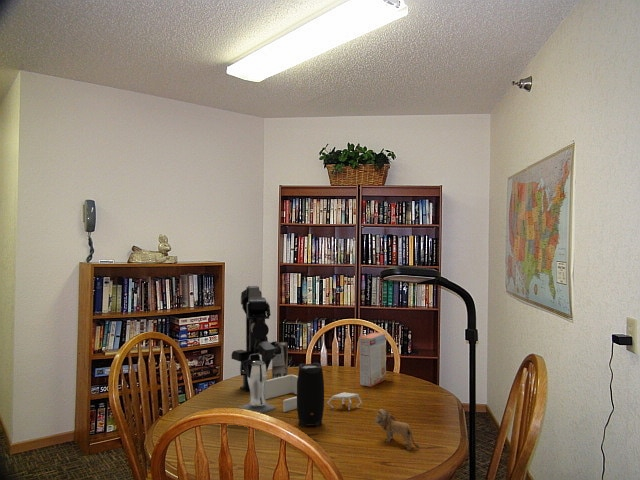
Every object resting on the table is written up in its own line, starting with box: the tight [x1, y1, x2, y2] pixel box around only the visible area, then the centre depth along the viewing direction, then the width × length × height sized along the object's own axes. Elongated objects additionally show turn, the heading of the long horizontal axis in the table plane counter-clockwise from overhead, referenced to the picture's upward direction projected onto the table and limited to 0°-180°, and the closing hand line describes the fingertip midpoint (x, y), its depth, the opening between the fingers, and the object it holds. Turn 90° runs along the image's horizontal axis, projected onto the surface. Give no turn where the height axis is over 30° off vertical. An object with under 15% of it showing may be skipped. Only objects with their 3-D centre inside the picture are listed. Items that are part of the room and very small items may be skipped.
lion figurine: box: [374, 408, 420, 451], centre depth 144 cm, size 15×5×9 cm, turn 52°
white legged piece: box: [326, 391, 363, 411], centre depth 175 cm, size 12×8×5 cm
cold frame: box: [265, 373, 298, 413], centre depth 182 cm, size 17×17×7 cm
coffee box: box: [271, 341, 289, 379], centre depth 211 cm, size 9×6×16 cm
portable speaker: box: [296, 362, 325, 428], centre depth 160 cm, size 9×9×20 cm
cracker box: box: [358, 331, 387, 388], centre depth 208 cm, size 14×6×21 cm, turn 144°
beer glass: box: [247, 360, 268, 407], centre depth 174 cm, size 7×7×15 cm
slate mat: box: [237, 403, 277, 414], centre depth 174 cm, size 10×10×1 cm
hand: (257, 375), depth 174 cm, fingers closed on beer glass, 6 cm apart
